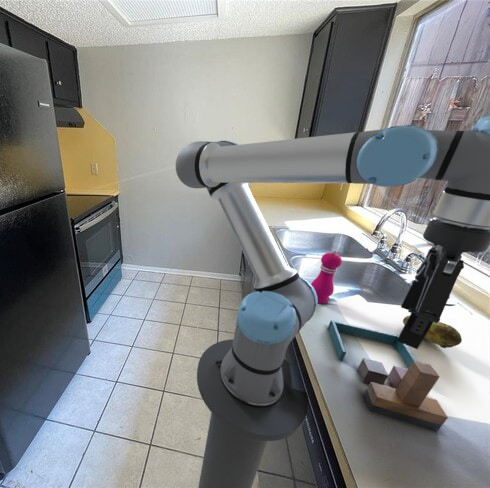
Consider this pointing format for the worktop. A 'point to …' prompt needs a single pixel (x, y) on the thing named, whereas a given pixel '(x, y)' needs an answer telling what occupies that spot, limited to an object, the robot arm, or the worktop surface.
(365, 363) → the walnut block
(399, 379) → the mahogany block
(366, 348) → the worktop surface
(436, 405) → the wooden t-shaped block
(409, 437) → the worktop surface
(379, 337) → the teal u-shaped frame
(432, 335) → the yellow-green oblong lump
